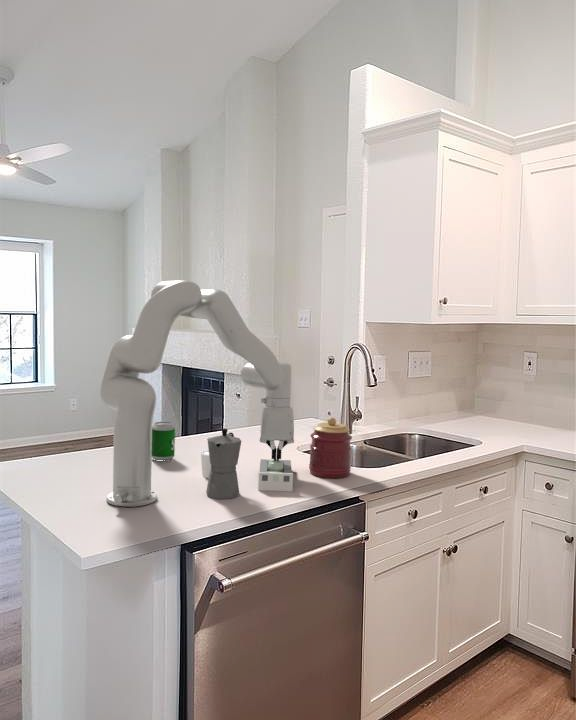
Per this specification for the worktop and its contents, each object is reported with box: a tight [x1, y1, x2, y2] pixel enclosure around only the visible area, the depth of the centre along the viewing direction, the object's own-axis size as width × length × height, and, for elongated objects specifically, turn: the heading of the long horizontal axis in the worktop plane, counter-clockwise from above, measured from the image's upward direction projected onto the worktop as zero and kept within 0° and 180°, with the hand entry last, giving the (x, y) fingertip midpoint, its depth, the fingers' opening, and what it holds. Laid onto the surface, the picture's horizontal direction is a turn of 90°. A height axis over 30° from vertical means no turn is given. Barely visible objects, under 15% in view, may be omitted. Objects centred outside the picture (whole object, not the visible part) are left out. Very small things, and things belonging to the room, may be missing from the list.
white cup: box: [200, 450, 211, 479], centre depth 182 cm, size 7×7×7 cm
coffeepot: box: [205, 428, 242, 500], centre depth 165 cm, size 15×9×18 cm, turn 171°
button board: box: [257, 458, 294, 492], centre depth 181 cm, size 24×10×5 cm, turn 1°
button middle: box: [268, 461, 283, 472], centre depth 181 cm, size 4×4×3 cm
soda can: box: [152, 421, 176, 461], centre depth 199 cm, size 8×8×12 cm
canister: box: [308, 417, 353, 479], centre depth 190 cm, size 13×13×18 cm
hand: (276, 461), depth 188 cm, fingers closed
